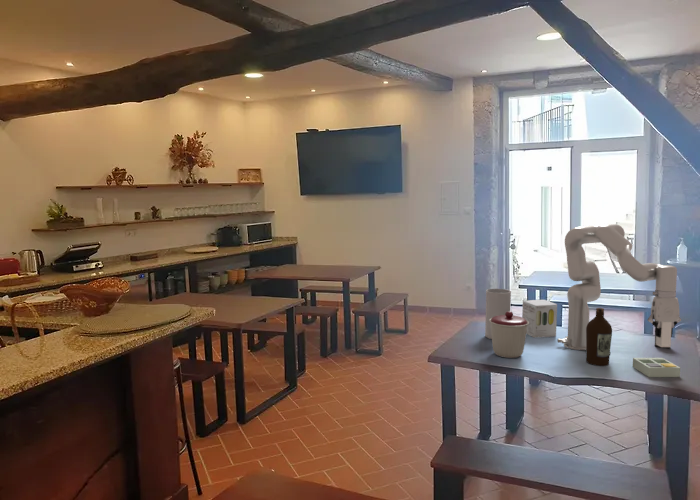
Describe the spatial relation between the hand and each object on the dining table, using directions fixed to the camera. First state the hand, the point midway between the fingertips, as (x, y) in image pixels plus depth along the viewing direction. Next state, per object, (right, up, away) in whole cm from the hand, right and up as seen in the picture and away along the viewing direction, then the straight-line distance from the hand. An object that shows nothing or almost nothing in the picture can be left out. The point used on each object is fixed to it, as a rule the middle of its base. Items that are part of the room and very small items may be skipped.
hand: (663, 336), depth 230 cm
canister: (-60, -13, +25) cm, 66 cm away
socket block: (-3, -15, 0) cm, 16 cm away
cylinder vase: (-57, -10, +54) cm, 79 cm away
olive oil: (-23, -14, +12) cm, 30 cm away
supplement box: (-33, -9, +60) cm, 69 cm away
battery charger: (+20, -11, +36) cm, 43 cm away
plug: (0, -4, 0) cm, 4 cm away
